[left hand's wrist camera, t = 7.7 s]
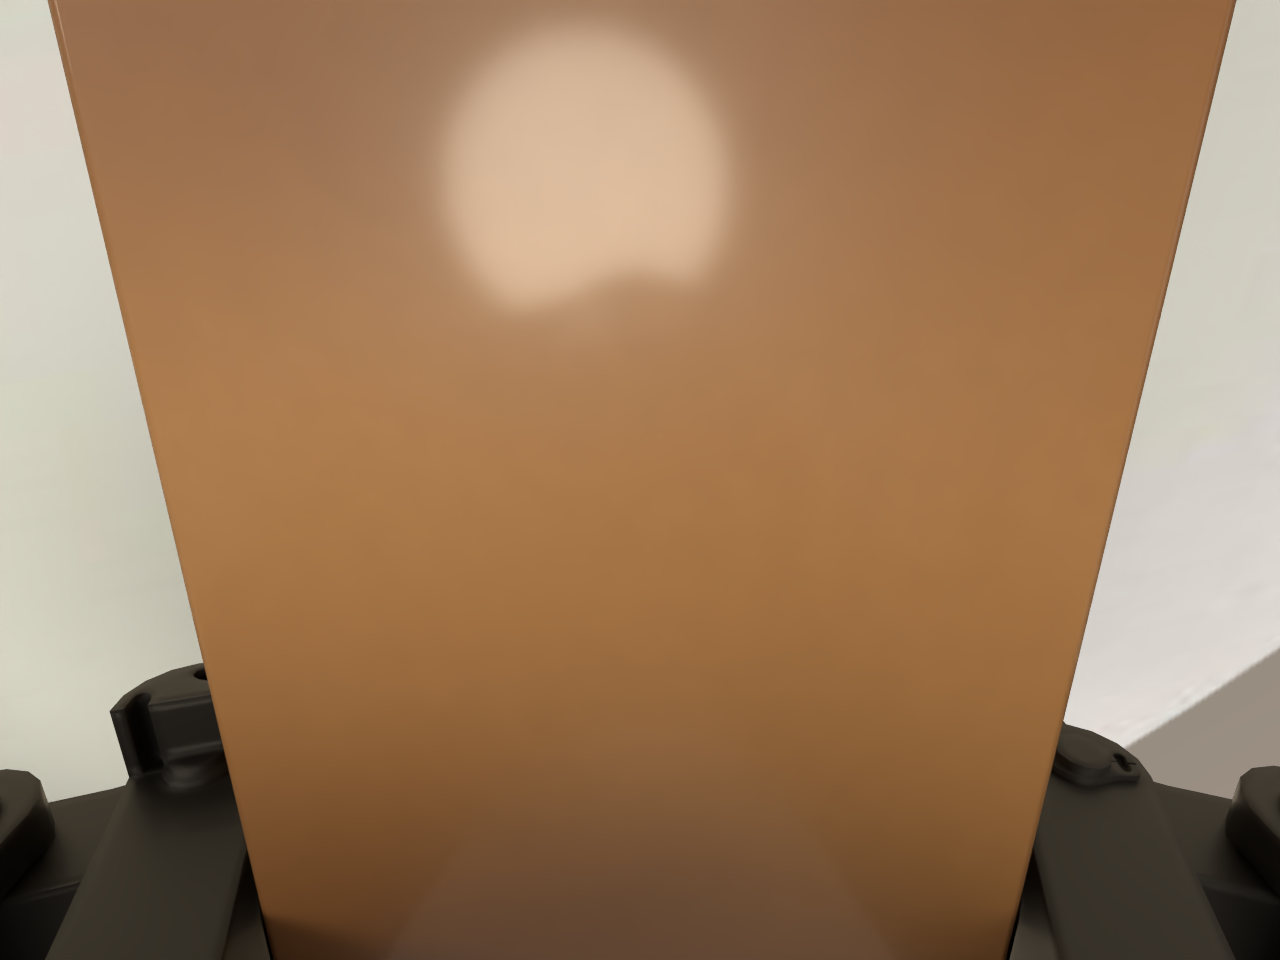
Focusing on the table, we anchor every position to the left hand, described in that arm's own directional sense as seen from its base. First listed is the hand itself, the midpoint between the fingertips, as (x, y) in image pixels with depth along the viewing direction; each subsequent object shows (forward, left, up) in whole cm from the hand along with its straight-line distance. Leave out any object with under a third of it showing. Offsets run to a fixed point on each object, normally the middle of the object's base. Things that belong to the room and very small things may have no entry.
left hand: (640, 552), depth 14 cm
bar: (+9, +9, 0) cm, 13 cm away
